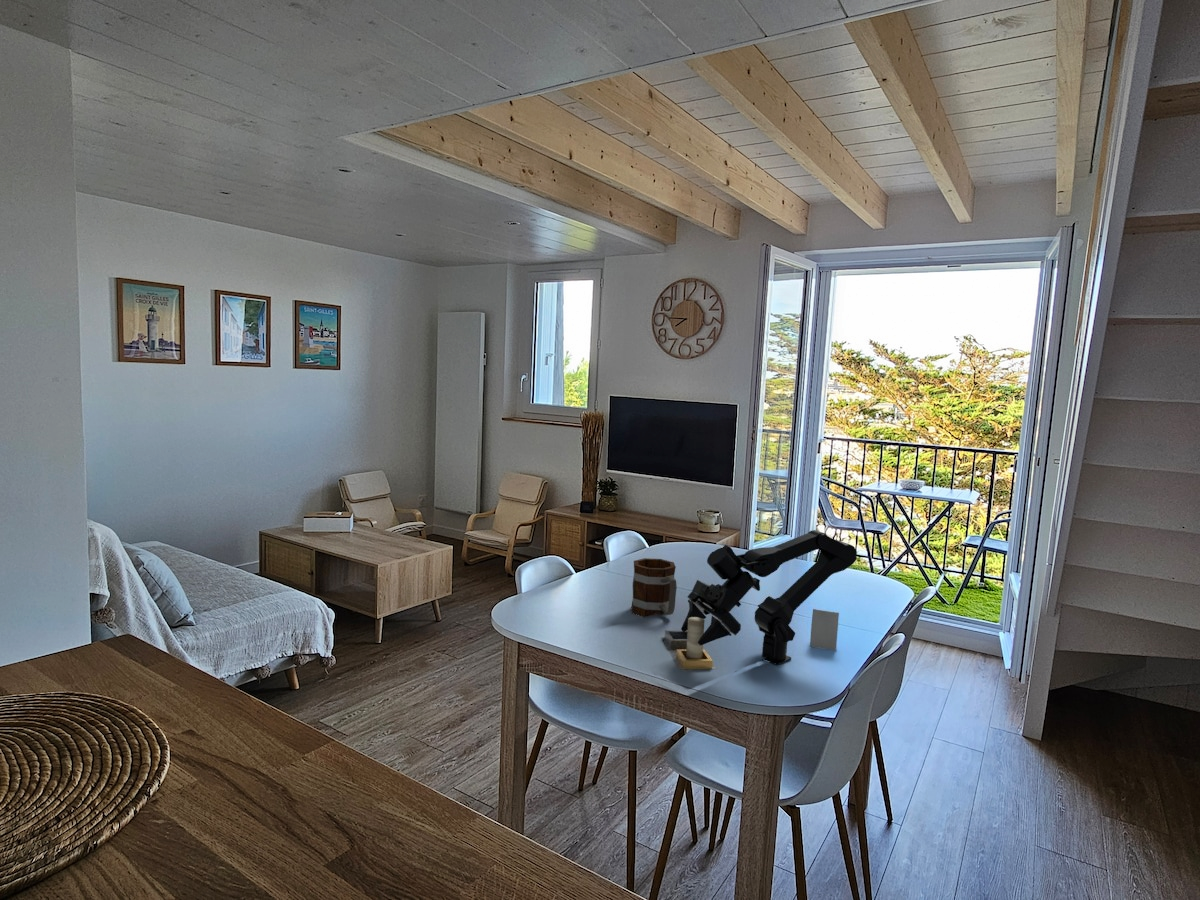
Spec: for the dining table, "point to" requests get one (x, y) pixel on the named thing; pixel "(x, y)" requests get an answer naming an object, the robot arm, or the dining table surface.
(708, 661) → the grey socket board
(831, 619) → the beige rectangular block
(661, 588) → the mug
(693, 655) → the peg
